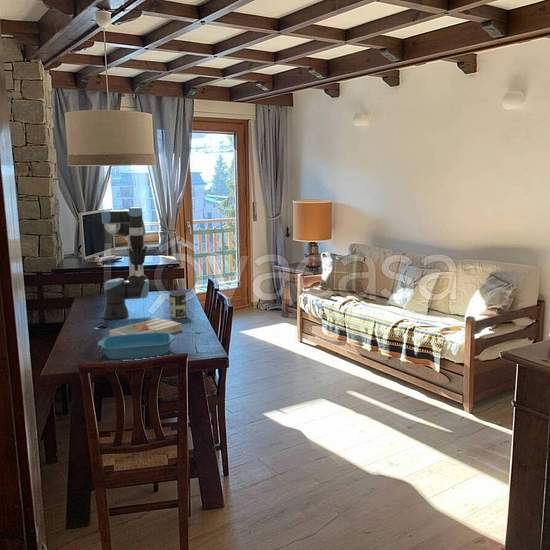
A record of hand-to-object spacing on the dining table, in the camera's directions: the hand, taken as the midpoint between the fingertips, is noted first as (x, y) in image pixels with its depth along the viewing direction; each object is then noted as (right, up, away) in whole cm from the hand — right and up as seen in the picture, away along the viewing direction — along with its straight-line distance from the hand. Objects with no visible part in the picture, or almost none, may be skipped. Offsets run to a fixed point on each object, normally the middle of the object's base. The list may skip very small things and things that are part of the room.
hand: (138, 276), depth 321 cm
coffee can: (+18, -25, +27) cm, 41 cm away
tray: (+1, -33, -19) cm, 38 cm away
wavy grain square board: (+12, -31, -6) cm, 33 cm away
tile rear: (+5, -30, -15) cm, 34 cm away
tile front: (+1, -30, -21) cm, 36 cm away
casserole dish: (+11, -38, -45) cm, 60 cm away
